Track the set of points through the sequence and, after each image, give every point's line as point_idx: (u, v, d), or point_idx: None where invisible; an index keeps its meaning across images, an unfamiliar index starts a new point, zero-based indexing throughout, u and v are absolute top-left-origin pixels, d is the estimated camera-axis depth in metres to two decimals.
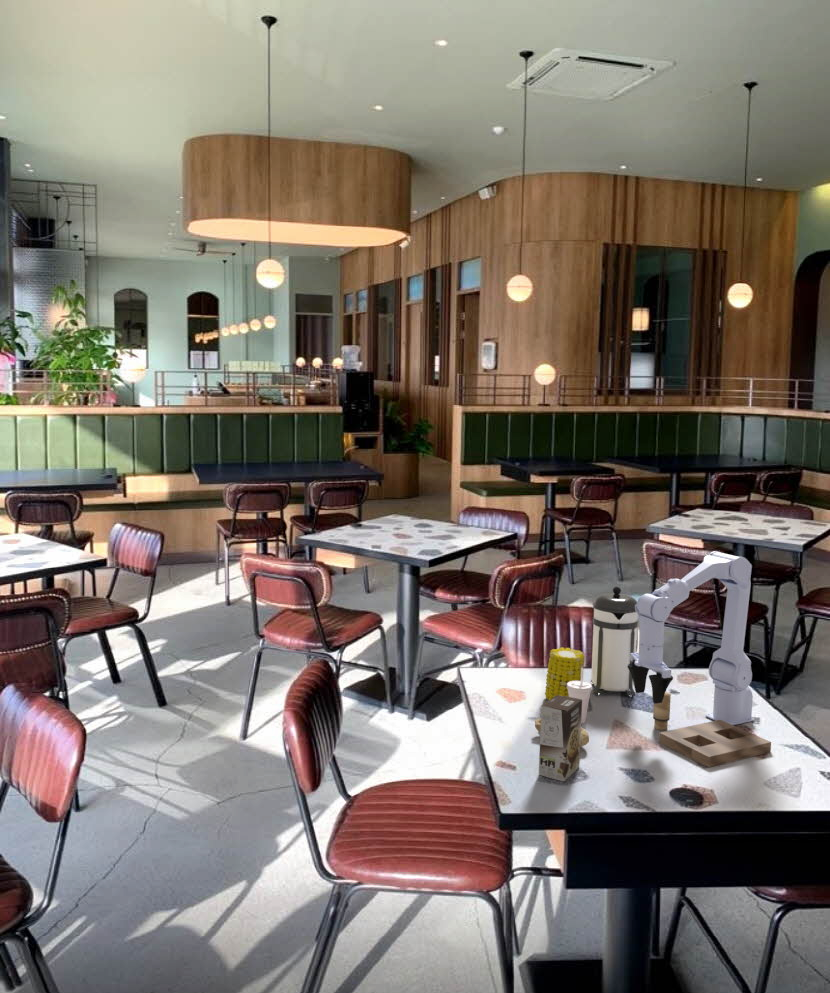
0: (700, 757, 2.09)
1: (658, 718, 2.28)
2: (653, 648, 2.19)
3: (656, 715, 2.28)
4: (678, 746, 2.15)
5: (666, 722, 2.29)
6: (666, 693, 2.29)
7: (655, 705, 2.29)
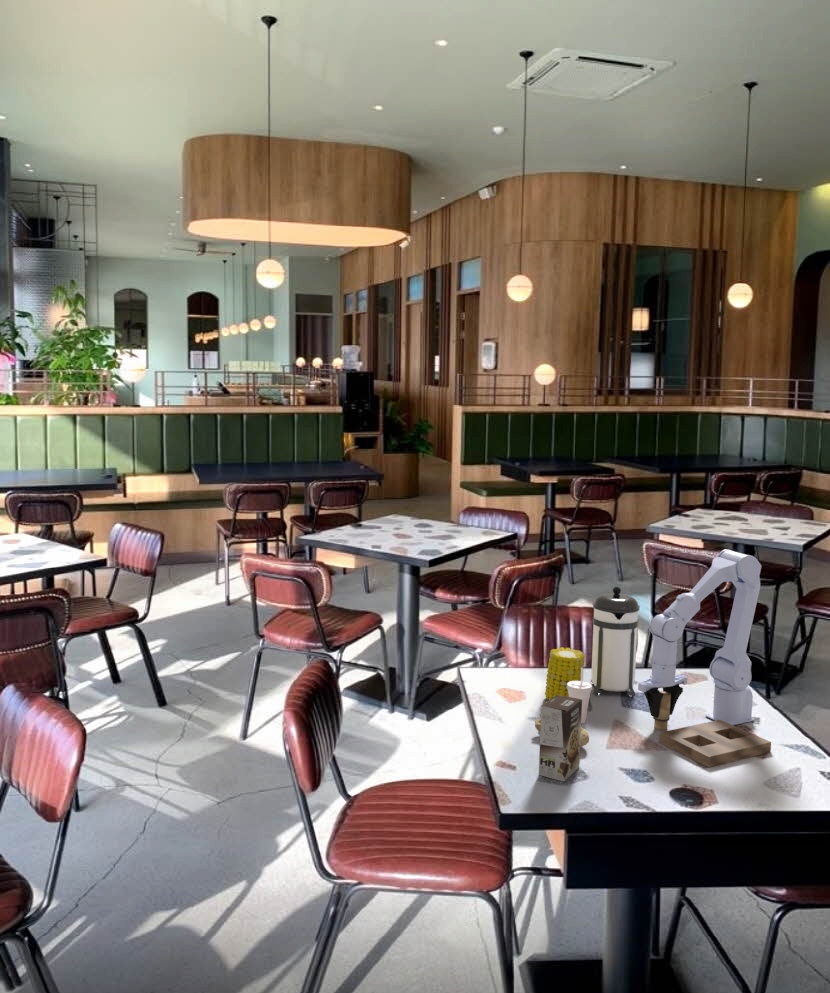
0: (700, 757, 2.09)
1: (658, 718, 2.28)
2: (653, 664, 2.28)
3: None
4: (678, 746, 2.15)
5: (666, 722, 2.29)
6: (666, 693, 2.29)
7: None
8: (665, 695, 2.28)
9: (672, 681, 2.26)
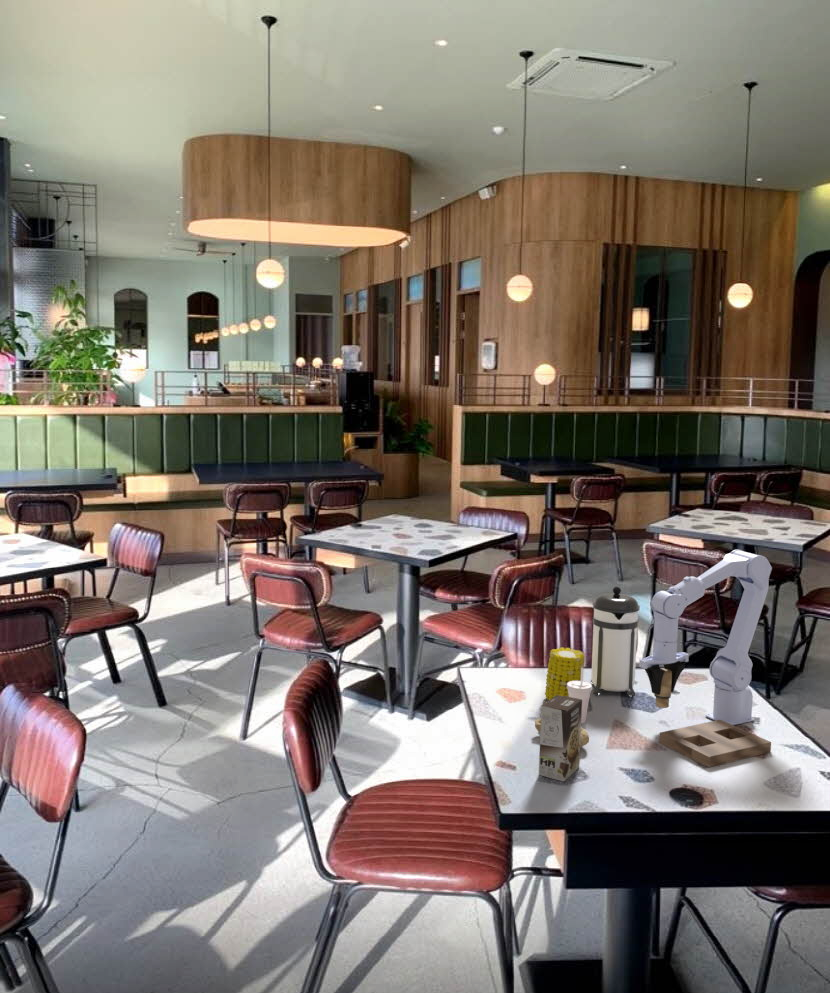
0: (700, 757, 2.09)
1: (659, 695, 2.27)
2: (654, 641, 2.27)
3: None
4: (678, 746, 2.15)
5: (667, 699, 2.28)
6: (667, 670, 2.28)
7: None
8: (666, 672, 2.27)
9: (673, 658, 2.26)
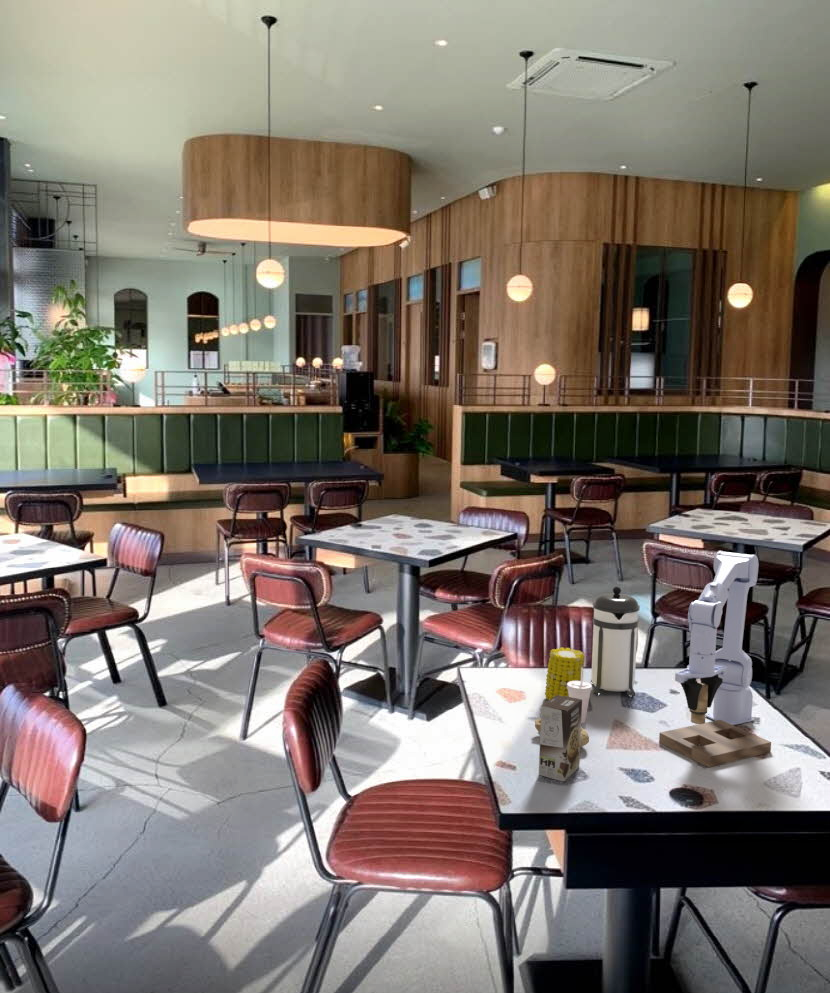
0: (700, 757, 2.09)
1: (695, 711, 2.14)
2: (690, 653, 2.13)
3: None
4: (678, 746, 2.15)
5: (704, 715, 2.14)
6: (703, 684, 2.15)
7: None
8: (702, 686, 2.14)
9: (711, 671, 2.12)
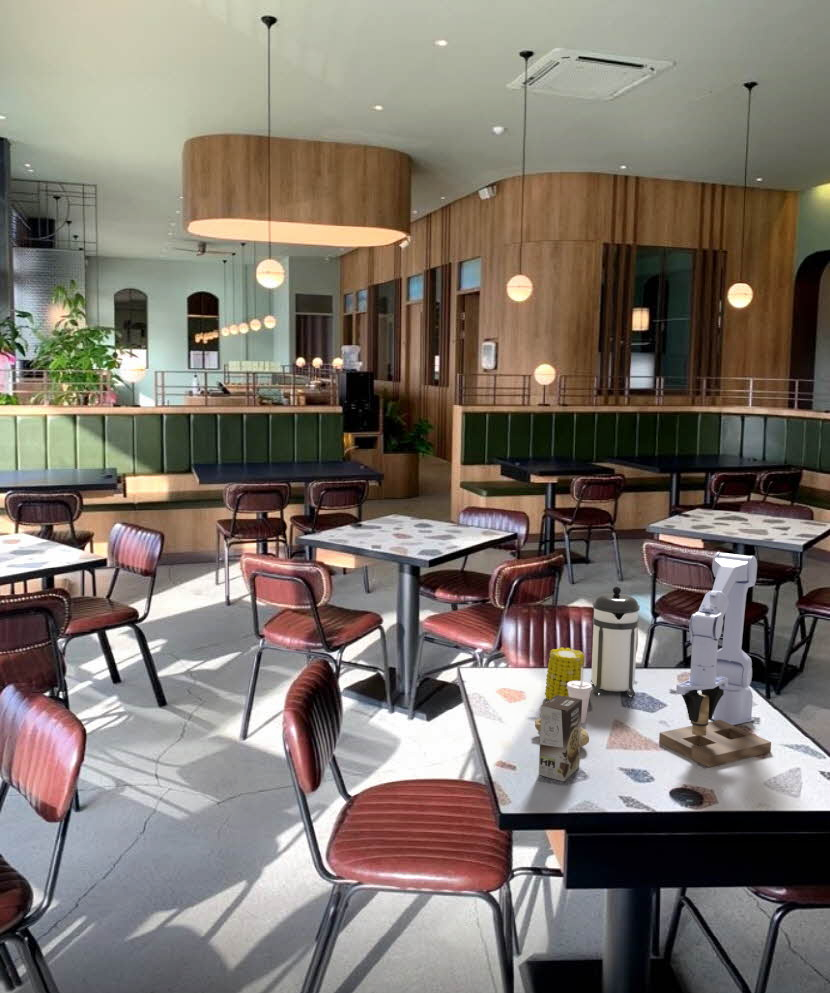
0: (700, 757, 2.09)
1: (696, 722, 2.14)
2: (691, 665, 2.13)
3: None
4: (678, 746, 2.15)
5: (705, 727, 2.14)
6: (704, 696, 2.15)
7: None
8: (703, 698, 2.13)
9: (713, 683, 2.12)
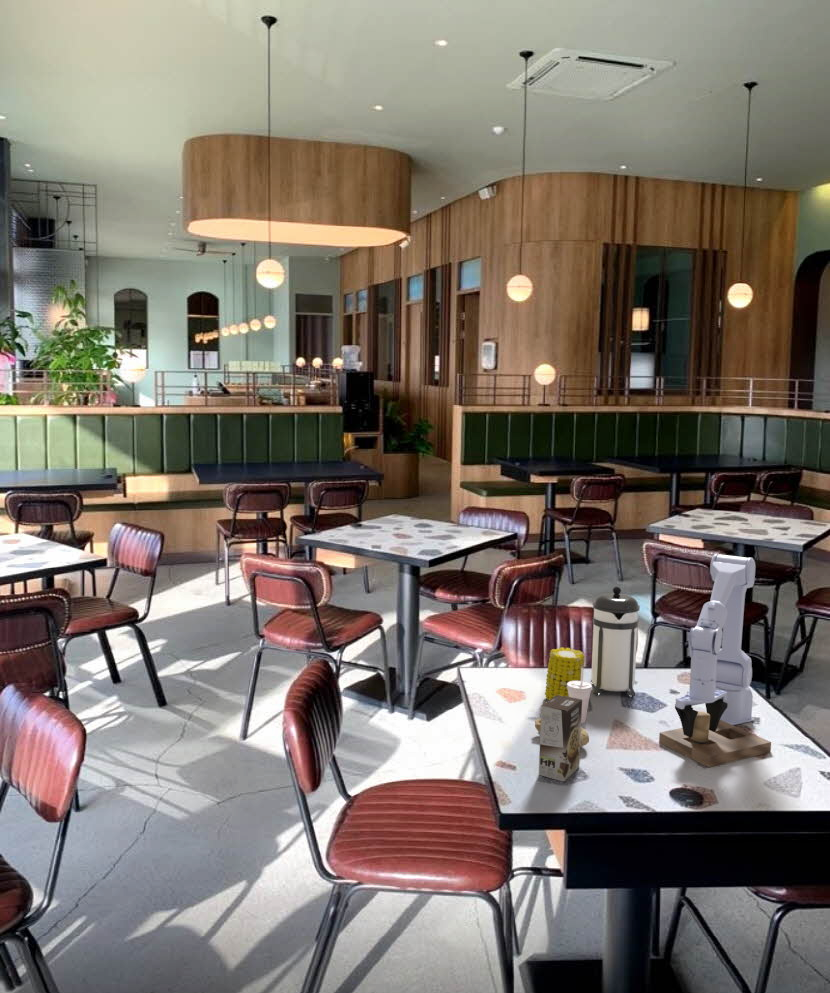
0: (700, 757, 2.09)
1: (696, 740, 2.14)
2: (691, 679, 2.14)
3: (694, 736, 2.14)
4: (678, 746, 2.15)
5: (704, 745, 2.15)
6: (705, 714, 2.15)
7: None
8: (704, 716, 2.13)
9: (712, 697, 2.12)
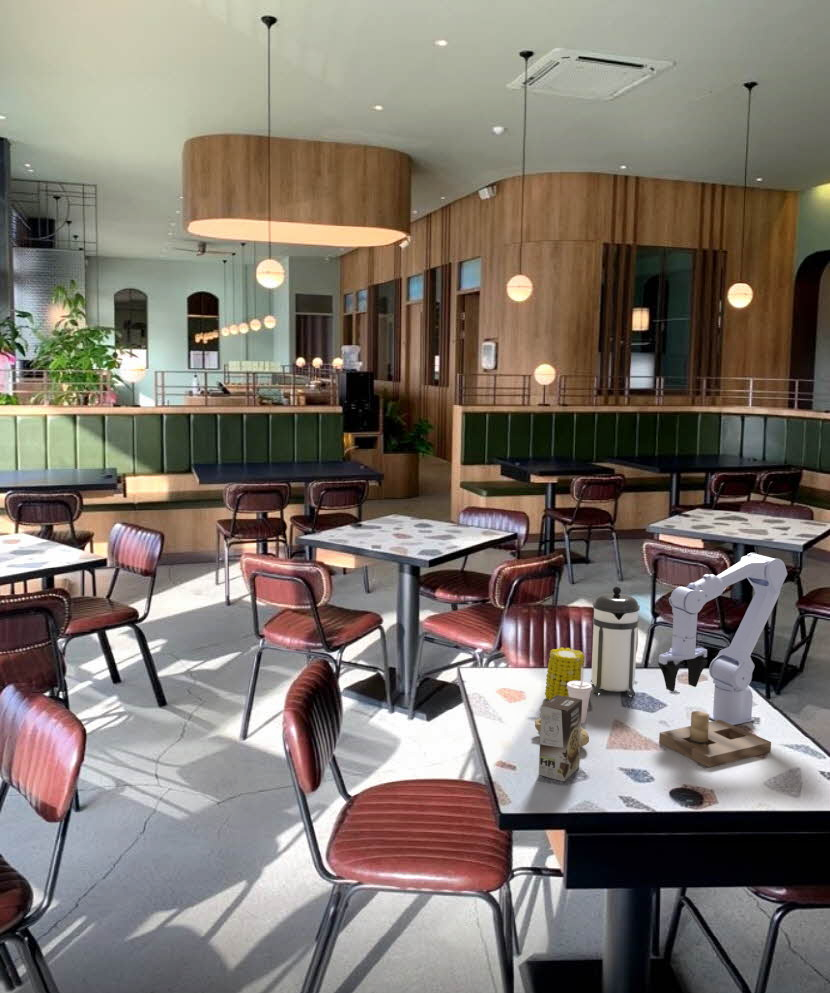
0: (700, 757, 2.09)
1: (695, 740, 2.14)
2: (673, 636, 2.28)
3: (694, 736, 2.14)
4: (678, 746, 2.15)
5: (704, 744, 2.15)
6: (704, 714, 2.15)
7: (692, 726, 2.15)
8: (703, 716, 2.14)
9: (692, 653, 2.26)
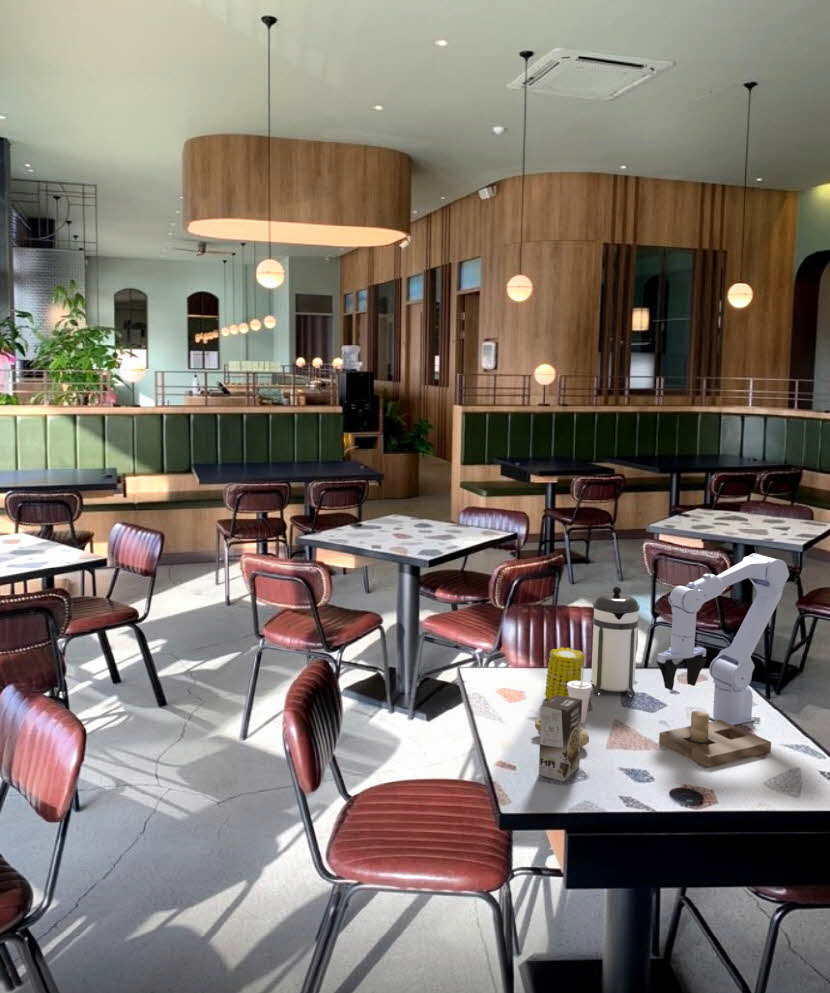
0: (700, 757, 2.09)
1: (695, 740, 2.14)
2: (672, 635, 2.28)
3: (694, 736, 2.14)
4: (678, 746, 2.15)
5: (704, 744, 2.15)
6: (704, 714, 2.15)
7: (692, 726, 2.15)
8: (703, 716, 2.14)
9: (691, 652, 2.27)
